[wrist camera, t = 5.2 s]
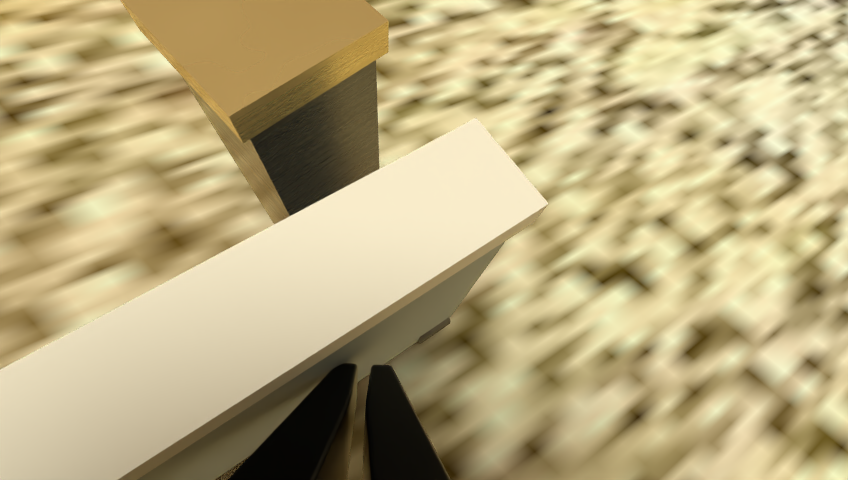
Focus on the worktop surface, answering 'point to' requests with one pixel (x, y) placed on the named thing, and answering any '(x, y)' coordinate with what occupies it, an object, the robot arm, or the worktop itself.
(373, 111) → the stile
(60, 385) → the cream flat slab
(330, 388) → the robot arm
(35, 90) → the worktop surface
